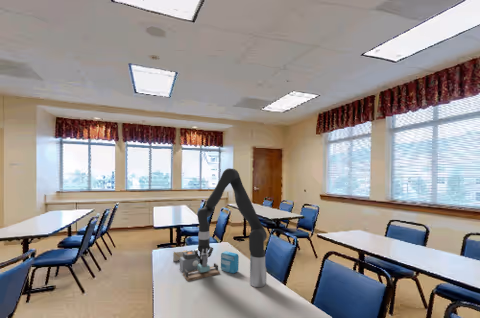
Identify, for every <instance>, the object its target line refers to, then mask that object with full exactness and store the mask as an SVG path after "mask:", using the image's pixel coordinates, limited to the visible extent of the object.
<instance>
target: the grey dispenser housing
mask: <svg viewBox="0 0 480 318" xmlns="http://www.w3.org/2000/svg"><path fill="white" fill-rule="evenodd" d="M184 251H185V252H184V253H183V257H180V260H179V270H180V271H181V273H184V269H186V270H187V271H188V272H189V271H193V270H198V269H197V264H200V259H198V258H197V256H196V254H195V252H194V250H187V251H186V250H184ZM188 252H192V254H187V253H188Z"/></svg>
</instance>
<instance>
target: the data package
mask: <svg viewBox="0 0 480 318" xmlns="http://www.w3.org/2000/svg"><path fill="white" fill-rule="evenodd" d="M239 257H240V256H239V254H238V253H237V252H231V251H228V250H225V251H223V252H222V253H221V254H220V270H221V271H224V272H227V273H230V274H235V273H238V272H239V263H240V262H239Z"/></svg>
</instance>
